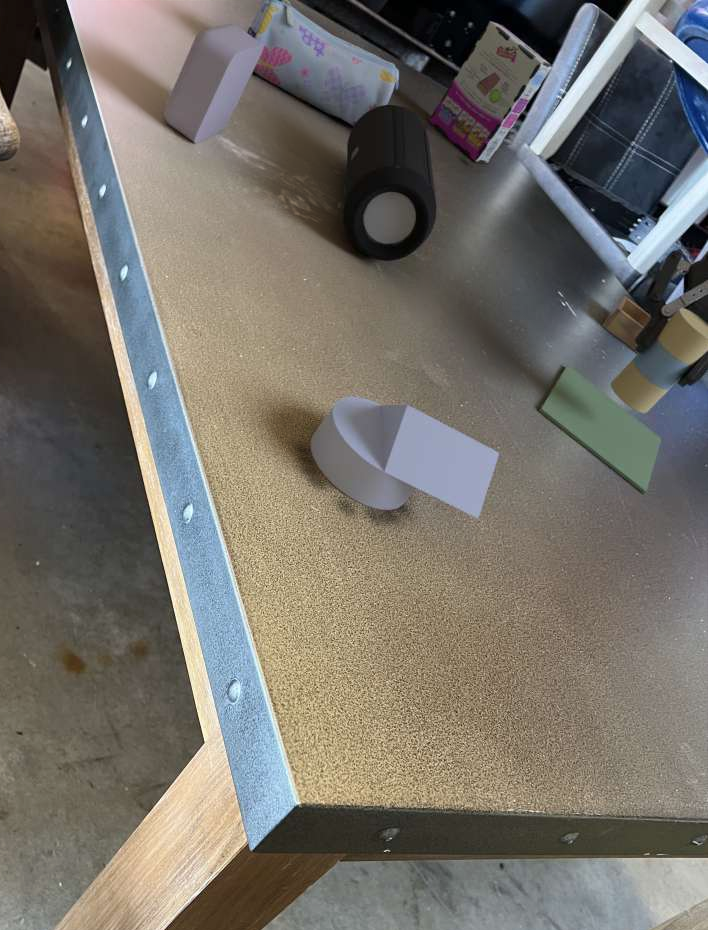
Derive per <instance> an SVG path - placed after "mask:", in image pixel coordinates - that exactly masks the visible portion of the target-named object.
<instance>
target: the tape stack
mask: <svg viewBox="0 0 708 930" xmlns="http://www.w3.org/2000/svg"><path fill="white" fill-rule="evenodd" d="M707 351H708V324H707V323H706V322H705V321H704V320H702V319H701V318H700V317H699V316H697V315H696V314H694V313H693V312H691V311H689V310H687V309H684V308H680V309H679V310H678V311H677V312H676V313H675V314H674V315H673V316H672V317H671V318H670V319H669V321H668V322H667V324H666V325H665V326H664V327H663V329H662V330H661V331H660V332H659V334H658V335H657V336H656V337H655V339H654V340H653V341H652V342H651V344H650V345H649V346H648V347H647V348H646V349H645V350H644V351H643V352H641V353H638V354H637V353H636V355H635V356H634V357H633V358H632V360H630V362H629V363H628V364H627V365H626V366H624V368H623V369H622V370H621V371H620V372H619V373H618V374H617V375H616V376H615V378H614V379H613V380H612V381H611V382H610V387H611V389H612V391H613V392H614V394H615V395H616V396H617V397H618V399H619V400H621V402H623V403H624V404H625V405H626V406H628V408H630V409H632V410H634V411H636V412H638V413H640V414H646V413H648V412H649V411H650V410H651V409H652V408H653V407H654V406H655V405H656V404H657V403H658V402H659V401H660V400H661V399H662V398H663V397H664V396H665V395H666V394H667V393H668V392H669V391H670V389H672V388H673V386H675V384H677V382H678V381H679V380H680V378H681V377H682V376H683V375H684V374H685V373H686V372H687V371H688V370H689V369H690V368H691V367H692V366H693V365H694V364H695V363H696V362H697V361H698V360H699V359H700V358H701V357H702V356H703V355H704V354H705V353H706V352H707Z"/></svg>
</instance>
